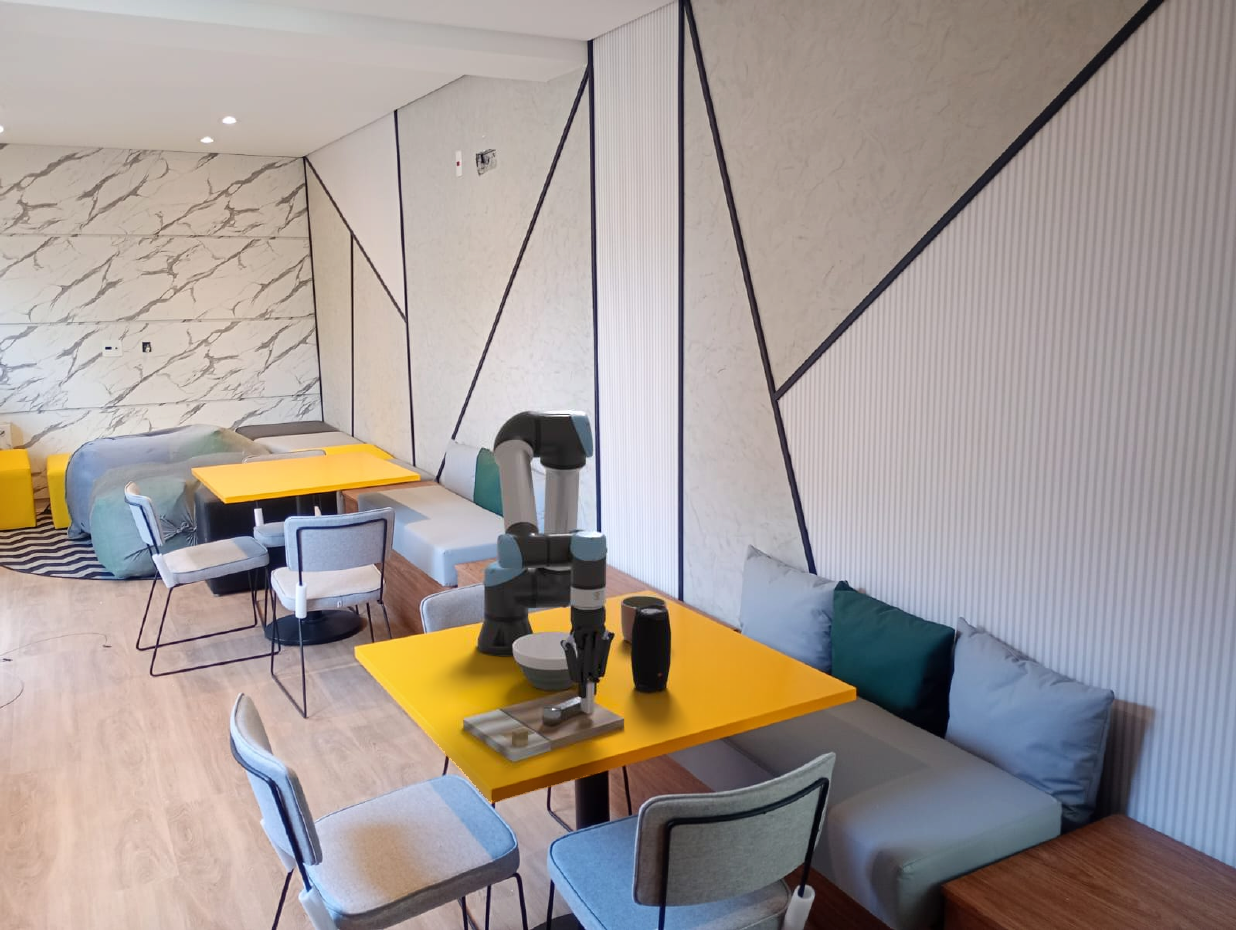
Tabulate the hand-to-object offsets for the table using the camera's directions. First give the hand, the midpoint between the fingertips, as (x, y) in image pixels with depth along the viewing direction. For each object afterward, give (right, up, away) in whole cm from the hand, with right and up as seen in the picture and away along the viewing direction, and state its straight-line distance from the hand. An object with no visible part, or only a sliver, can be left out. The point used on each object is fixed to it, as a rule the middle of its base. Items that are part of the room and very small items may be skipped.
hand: (587, 710), depth 208 cm
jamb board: (-9, -3, -1) cm, 10 cm away
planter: (+13, +5, +55) cm, 57 cm away
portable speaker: (+14, 0, +22) cm, 26 cm away
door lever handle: (-4, -1, 0) cm, 4 cm away
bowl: (-9, 0, +24) cm, 26 cm away
